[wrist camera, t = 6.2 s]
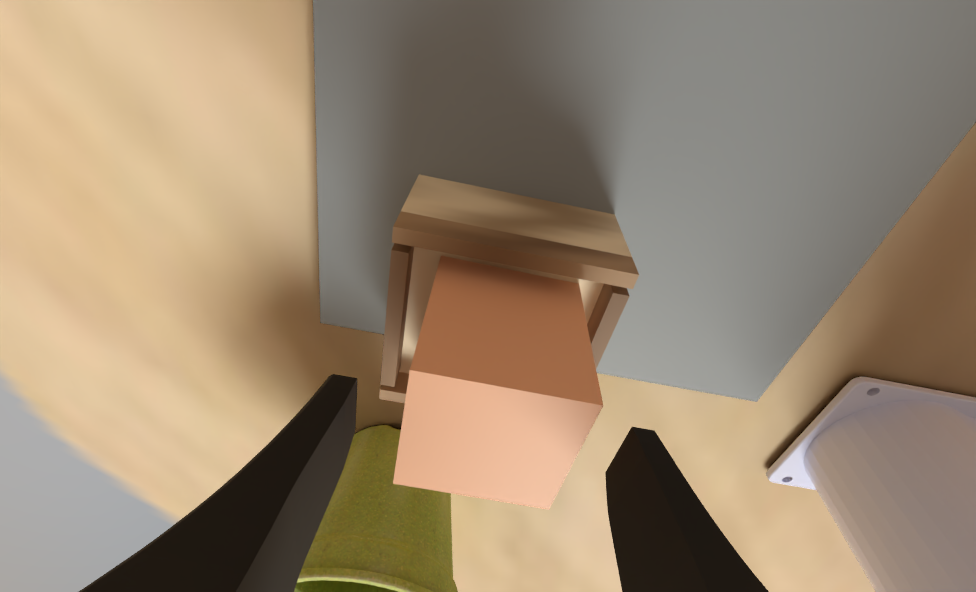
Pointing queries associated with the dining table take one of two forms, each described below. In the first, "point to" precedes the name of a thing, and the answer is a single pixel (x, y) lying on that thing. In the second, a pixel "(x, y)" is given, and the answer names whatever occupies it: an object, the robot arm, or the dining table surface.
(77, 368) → the dining table surface
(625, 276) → the birch socket block
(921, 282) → the dining table surface
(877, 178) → the grey board
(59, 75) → the dining table surface
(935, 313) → the dining table surface
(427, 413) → the terracotta block
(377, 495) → the plant pot
